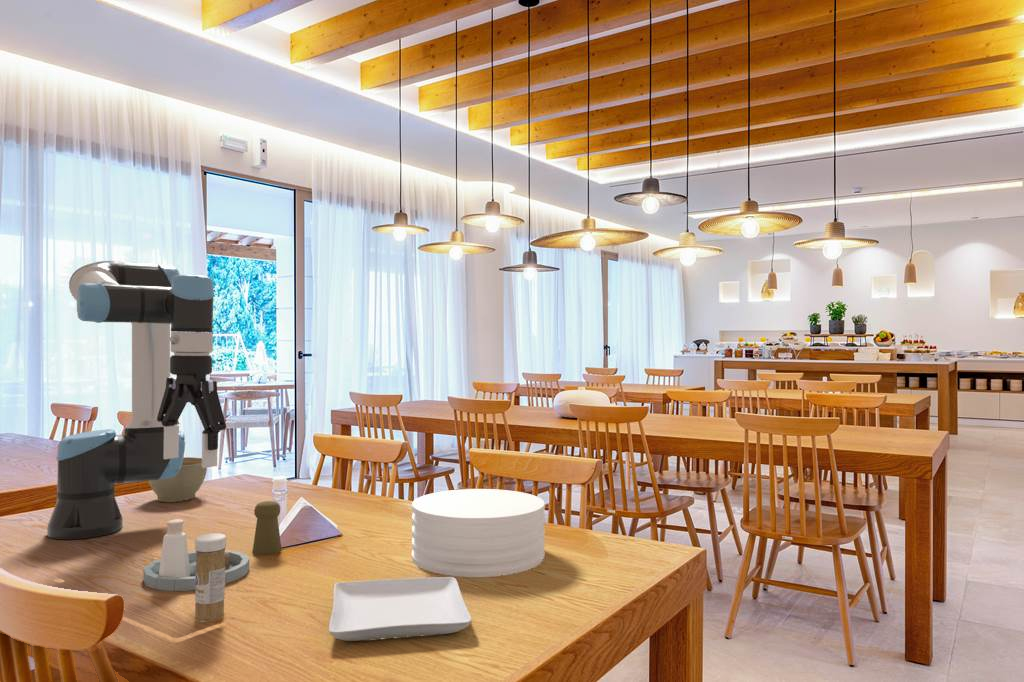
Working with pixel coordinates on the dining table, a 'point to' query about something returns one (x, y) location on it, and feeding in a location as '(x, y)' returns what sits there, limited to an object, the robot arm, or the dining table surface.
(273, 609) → the dining table surface
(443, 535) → the plate stack
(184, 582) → the groove tray
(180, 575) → the pepper shaker
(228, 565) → the bead walnut
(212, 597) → the sprinkles bottle
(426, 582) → the salad plate
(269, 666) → the dining table surface
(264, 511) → the pepper shaker
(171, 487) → the planter bowl
